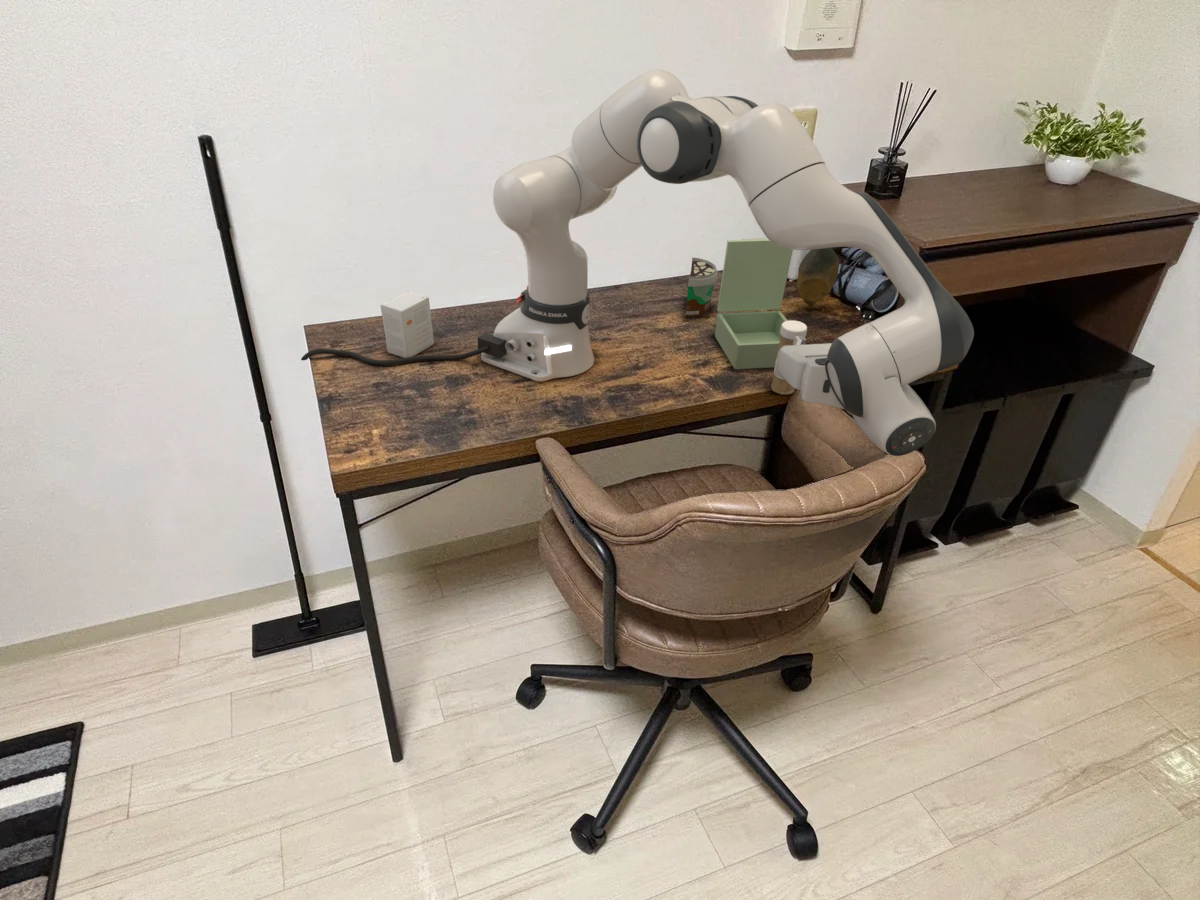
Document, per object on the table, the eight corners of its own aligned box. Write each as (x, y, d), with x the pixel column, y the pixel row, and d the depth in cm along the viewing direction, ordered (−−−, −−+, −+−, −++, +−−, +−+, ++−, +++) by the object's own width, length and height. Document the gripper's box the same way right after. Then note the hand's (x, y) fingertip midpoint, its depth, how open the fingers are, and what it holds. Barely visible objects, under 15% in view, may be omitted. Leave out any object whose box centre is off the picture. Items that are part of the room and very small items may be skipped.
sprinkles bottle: (781, 381, 148) (792, 317, 140) (799, 391, 145) (813, 326, 138) (765, 388, 146) (776, 323, 138) (784, 398, 143) (796, 332, 135)
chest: (800, 365, 153) (805, 341, 150) (734, 369, 152) (738, 345, 149) (775, 333, 165) (779, 310, 162) (714, 336, 163) (717, 313, 160)
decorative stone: (798, 315, 173) (810, 250, 164) (786, 304, 178) (797, 241, 169) (837, 312, 175) (851, 248, 166) (824, 301, 180) (837, 238, 171)
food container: (712, 323, 169) (718, 279, 163) (684, 320, 169) (688, 277, 164) (714, 300, 179) (719, 258, 173) (688, 297, 179) (692, 256, 174)
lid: (795, 239, 152) (786, 229, 156) (728, 241, 150) (721, 231, 154) (780, 309, 162) (773, 298, 165) (718, 312, 160) (712, 300, 163)
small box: (414, 337, 159) (408, 289, 153) (435, 344, 157) (429, 296, 151) (386, 352, 154) (379, 303, 148) (407, 360, 151) (401, 310, 145)
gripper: (931, 357, 114) (889, 317, 126) (800, 365, 112) (769, 324, 123) (920, 394, 118) (880, 352, 129) (793, 402, 115) (763, 359, 126)
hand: (825, 338), depth 126 cm, fingers open, 8 cm apart
